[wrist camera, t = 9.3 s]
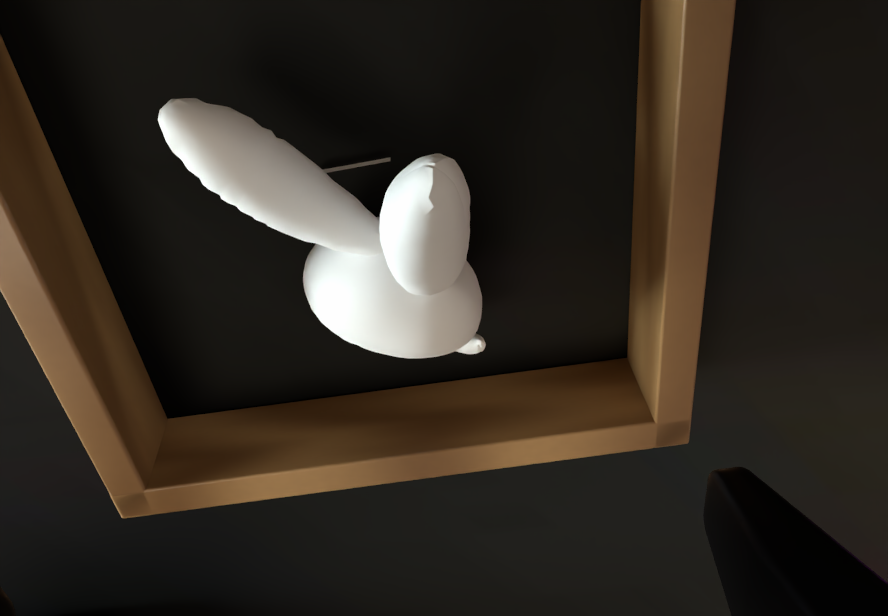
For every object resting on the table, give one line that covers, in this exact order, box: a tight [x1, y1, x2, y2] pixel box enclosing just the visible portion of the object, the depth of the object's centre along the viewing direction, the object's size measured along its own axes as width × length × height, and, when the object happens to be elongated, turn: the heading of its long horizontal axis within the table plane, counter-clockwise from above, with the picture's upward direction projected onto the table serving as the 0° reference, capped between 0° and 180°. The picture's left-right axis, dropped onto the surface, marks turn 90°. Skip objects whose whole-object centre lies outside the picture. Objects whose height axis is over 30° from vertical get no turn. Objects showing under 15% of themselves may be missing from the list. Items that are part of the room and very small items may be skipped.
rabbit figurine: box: [158, 98, 486, 358], centre depth 15 cm, size 6×4×8 cm
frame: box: [0, 0, 736, 518], centre depth 16 cm, size 14×13×2 cm
